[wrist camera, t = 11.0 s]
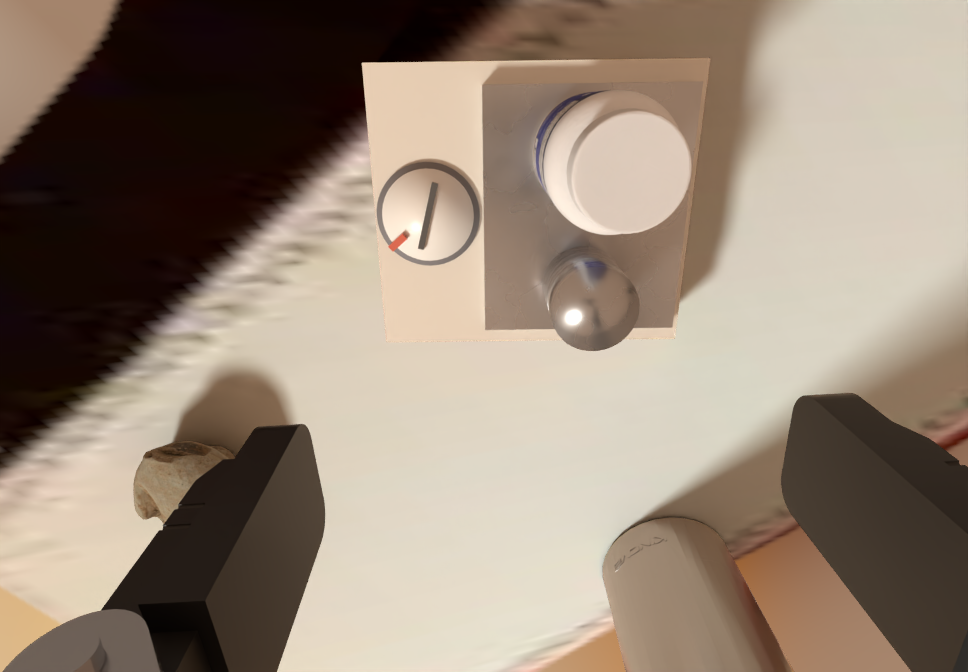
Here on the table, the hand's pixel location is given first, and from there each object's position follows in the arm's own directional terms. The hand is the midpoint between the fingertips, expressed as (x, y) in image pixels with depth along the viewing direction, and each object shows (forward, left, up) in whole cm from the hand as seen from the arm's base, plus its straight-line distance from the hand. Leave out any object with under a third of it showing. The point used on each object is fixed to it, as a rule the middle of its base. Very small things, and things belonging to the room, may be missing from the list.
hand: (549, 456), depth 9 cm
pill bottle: (0, -5, -20) cm, 21 cm away
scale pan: (-3, -3, -21) cm, 21 cm away
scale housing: (-1, -1, -24) cm, 24 cm away
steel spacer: (-5, -1, -20) cm, 21 cm away
